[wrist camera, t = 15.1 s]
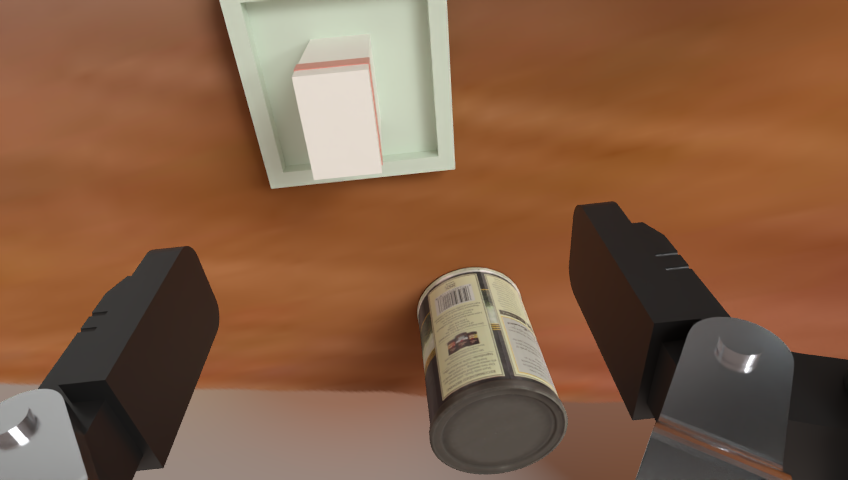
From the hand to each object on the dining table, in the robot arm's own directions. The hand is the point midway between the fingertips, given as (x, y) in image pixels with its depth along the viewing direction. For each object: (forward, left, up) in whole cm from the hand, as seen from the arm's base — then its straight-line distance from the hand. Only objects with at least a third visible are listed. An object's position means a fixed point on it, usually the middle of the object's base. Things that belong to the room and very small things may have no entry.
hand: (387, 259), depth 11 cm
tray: (+3, +4, -28) cm, 29 cm away
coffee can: (-5, +27, -28) cm, 39 cm away
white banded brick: (+3, +4, -27) cm, 28 cm away
